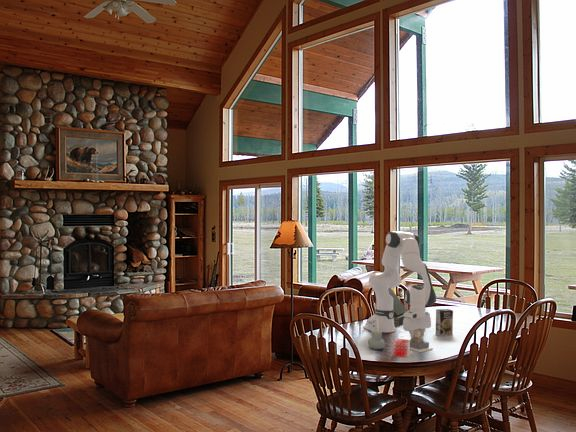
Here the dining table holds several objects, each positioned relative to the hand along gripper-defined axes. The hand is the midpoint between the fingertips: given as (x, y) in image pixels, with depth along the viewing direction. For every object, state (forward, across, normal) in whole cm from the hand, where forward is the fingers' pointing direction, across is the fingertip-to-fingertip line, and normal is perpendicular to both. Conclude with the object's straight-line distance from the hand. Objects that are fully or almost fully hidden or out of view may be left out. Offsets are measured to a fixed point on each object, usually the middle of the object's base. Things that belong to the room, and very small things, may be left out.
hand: (417, 336), depth 317 cm
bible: (+7, -42, -62) cm, 75 cm away
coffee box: (+7, -42, -15) cm, 45 cm away
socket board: (+7, 0, 0) cm, 7 cm away
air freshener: (+7, +21, -12) cm, 25 cm away
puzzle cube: (+7, +18, +5) cm, 20 cm away
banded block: (+6, 0, 0) cm, 6 cm away
